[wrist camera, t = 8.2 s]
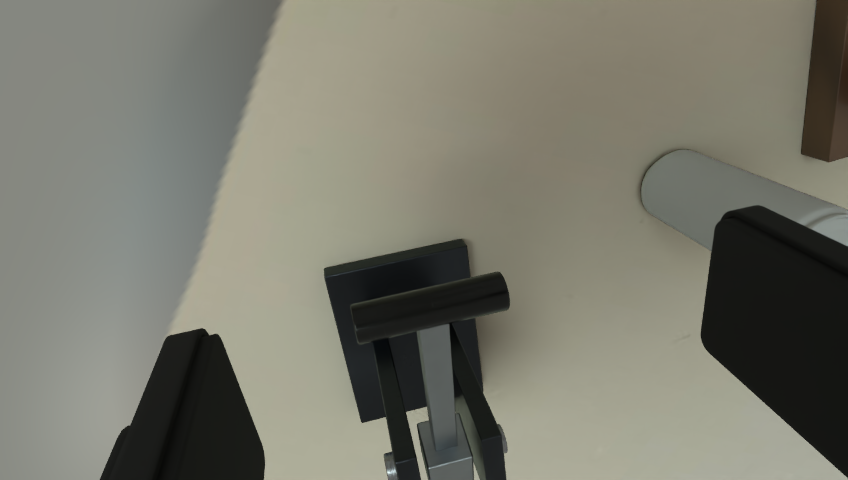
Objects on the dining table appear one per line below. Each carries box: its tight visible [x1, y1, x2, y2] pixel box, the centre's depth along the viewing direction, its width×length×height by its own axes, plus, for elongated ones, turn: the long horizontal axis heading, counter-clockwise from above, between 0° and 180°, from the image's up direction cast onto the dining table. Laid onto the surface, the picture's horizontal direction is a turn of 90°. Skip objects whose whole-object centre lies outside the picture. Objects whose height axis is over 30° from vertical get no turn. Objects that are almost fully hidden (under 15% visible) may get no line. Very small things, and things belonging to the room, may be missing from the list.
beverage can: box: [641, 150, 848, 251], centre depth 30 cm, size 5×5×12 cm
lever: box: [351, 272, 510, 480], centre depth 23 cm, size 13×6×2 cm, turn 8°
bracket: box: [324, 239, 508, 480], centre depth 30 cm, size 12×9×13 cm
